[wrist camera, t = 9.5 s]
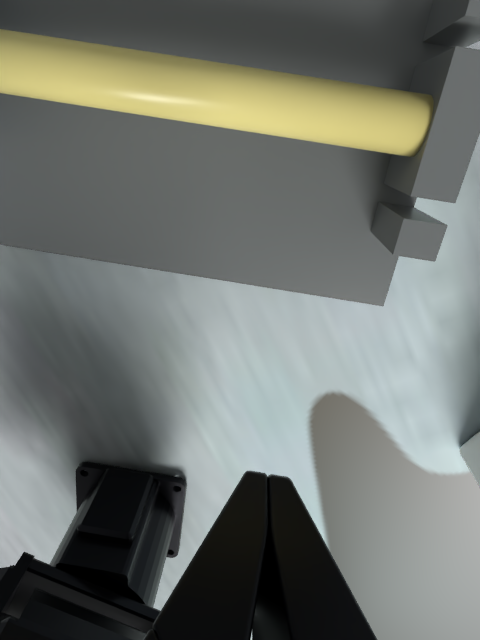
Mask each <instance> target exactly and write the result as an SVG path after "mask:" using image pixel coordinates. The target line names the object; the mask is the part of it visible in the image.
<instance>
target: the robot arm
mask: <svg viewBox="0 0 480 640" xmlns="http://www.w3.org/2000/svg"><path fill="white" fill-rule="evenodd" d="M85 470H86V471H85ZM177 486H179V487H177ZM186 487H187V483H186V481H185V480H184V479H182V478H179V477H174V476H168V475H162V474H156V473H150V472H144V471H138V470H132V469H126V468H120V467H114V466H108V465H102V464H97V463H91V462H82V463H80V464H79V466H78V468H77V469H76V495H77V513H76V515H75V517H74V519H73V521H72V523H71V525H70V527H69V528H68V530H67V532H66V534H65V536H64V538H63V540H62V542H61V544H60V545H59V547H58V549H57V551H56V553H55V555H54V557H53V559H52V561H51V563H50V564H47V563H44V562H42V561H39V560H37V559H35V558H34V556H33V555H31V554H28V553H26V552H24V553H23V554H22V556H21V557H20V559H19V560H18V562H17V564H16V565H15V566H14V565H13V566H11V565H10V567H5V568H0V640H250V638H251V632H252V639H253V640H377V638H376V636H375V635H374V633H373V631H372V629H371V627H370V625H369V623H368V622H367V620H366V618H365V616H364V614H363V612H362V610H361V609H360V607H359V605H358V603H357V601H356V599H355V598H354V596H353V594H352V592H351V590H350V588H349V586H348V585H347V583H346V581H345V579H344V577H343V575H342V573H341V572H340V570H339V568H338V566H337V564H336V562H335V560H334V559H333V557H332V555H331V553H330V551H329V549H328V547H327V546H326V544H325V542H324V540H323V538H322V536H321V535H320V533H319V531H318V529H317V527H316V525H315V523H314V522H313V520H312V518H311V516H310V514H309V512H308V510H307V509H306V507H305V505H304V503H303V501H302V499H301V497H300V496H299V494H298V492H297V490H296V488H295V486H294V484H293V483H292V481H291V479H290V478H288V477H284V476H278V475H272V474H271V475H269V476H268V477H267V475H266V474H265V473H261V472H255V471H246V472H245V473H244V475H243V477H242V478H241V480H240V482H239V483H238V485H237V487H236V488H235V490H234V491H233V493H232V495H231V496H230V498H229V500H228V501H227V503H226V505H225V506H224V508H223V510H222V511H221V513H220V514H219V516H218V518H217V519H216V521H215V523H214V524H213V526H212V528H211V529H210V531H209V533H208V534H207V536H206V538H205V539H204V541H203V542H202V544H201V546H200V547H199V549H198V551H197V552H196V554H195V556H194V557H193V559H192V561H191V562H190V564H189V566H188V567H187V569H186V570H185V572H184V574H183V575H182V577H181V579H180V580H179V582H178V584H177V585H176V587H175V589H174V590H173V592H172V594H171V595H170V597H169V598H168V600H167V602H166V603H165V605H164V607H163V608H162V610H161V611H160V610H157V609H155V608H153V606H154V602H155V598H156V594H157V590H158V586H159V583H160V579H161V575H162V571H163V567H164V563H165V560H166V557H170V558H173V557H176V556H177V555H178V551H179V546H180V538H181V530H182V521H183V513H184V504H185V496H186Z"/></svg>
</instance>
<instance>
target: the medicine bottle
mask: <svg viewBox="0 0 480 640" xmlns="http://www.w3.org/2000/svg"><path fill="white" fill-rule="evenodd" d="M460 454H461V456H462V458H463V460H464V461H465V463H466V465H467V467H468V468H469V470H470V472H471V473H472V475H473V477H474V479H475V480H476V482H477V484H478V486H479V487H480V431H479V432H478V433H477V434H476V435H474V436H473V437H472V438H471V439H469V440H468V441H467V442H466V443H465V444H463V445H462V446H461V447H460Z"/></svg>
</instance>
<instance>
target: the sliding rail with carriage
mask: <svg viewBox="0 0 480 640" xmlns="http://www.w3.org/2000/svg"><path fill="white" fill-rule="evenodd" d="M478 41H480V0H0V245H6V246H12V247H19V248H25V249H31V250H37V251H43V252H50V253H56V254H62V255H68V256H74V257H81V258H87V259H93V260H99V261H105V262H112V263H118V264H124V265H130V266H137V267H143V268H149V269H155V270H161V271H168V272H174V273H180V274H186V275H192V276H199V277H205V278H211V279H217V280H223V281H230V282H236V283H242V284H248V285H254V286H261V287H267V288H273V289H279V290H285V291H292V292H298V293H304V294H310V295H316V296H323V297H329V298H335V299H341V300H348V301H354V302H360V303H366V304H372V305H379V306H384V302H385V299H386V296H387V293H388V289H389V286H390V283H391V280H392V276H393V273H394V270H395V267H396V263H397V260H398V257H399V256H403V257H410V258H416V259H422V260H428V261H435V260H436V257H437V254H438V251H439V249H440V246H441V243H442V240H443V237H444V234H445V231H446V228H447V225H446V224H444V223H442V222H440V221H438V220H436V219H435V218H433V217H431V216H429V215H427V214H425V213H423V212H422V211H420V210H418V209H416V208H414V205H415V202H416V198H417V197H419V198H425V199H432V200H438V201H444V202H451V203H455V202H456V200H457V197H458V194H459V191H460V188H461V185H462V182H463V179H464V177H465V174H466V171H467V168H468V165H469V162H470V159H471V156H472V153H473V151H474V148H475V145H476V142H477V139H478V136H479V133H480V50H477V49H471V48H465V47H467V46H469V45H471V44H474V43H476V42H478Z"/></svg>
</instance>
